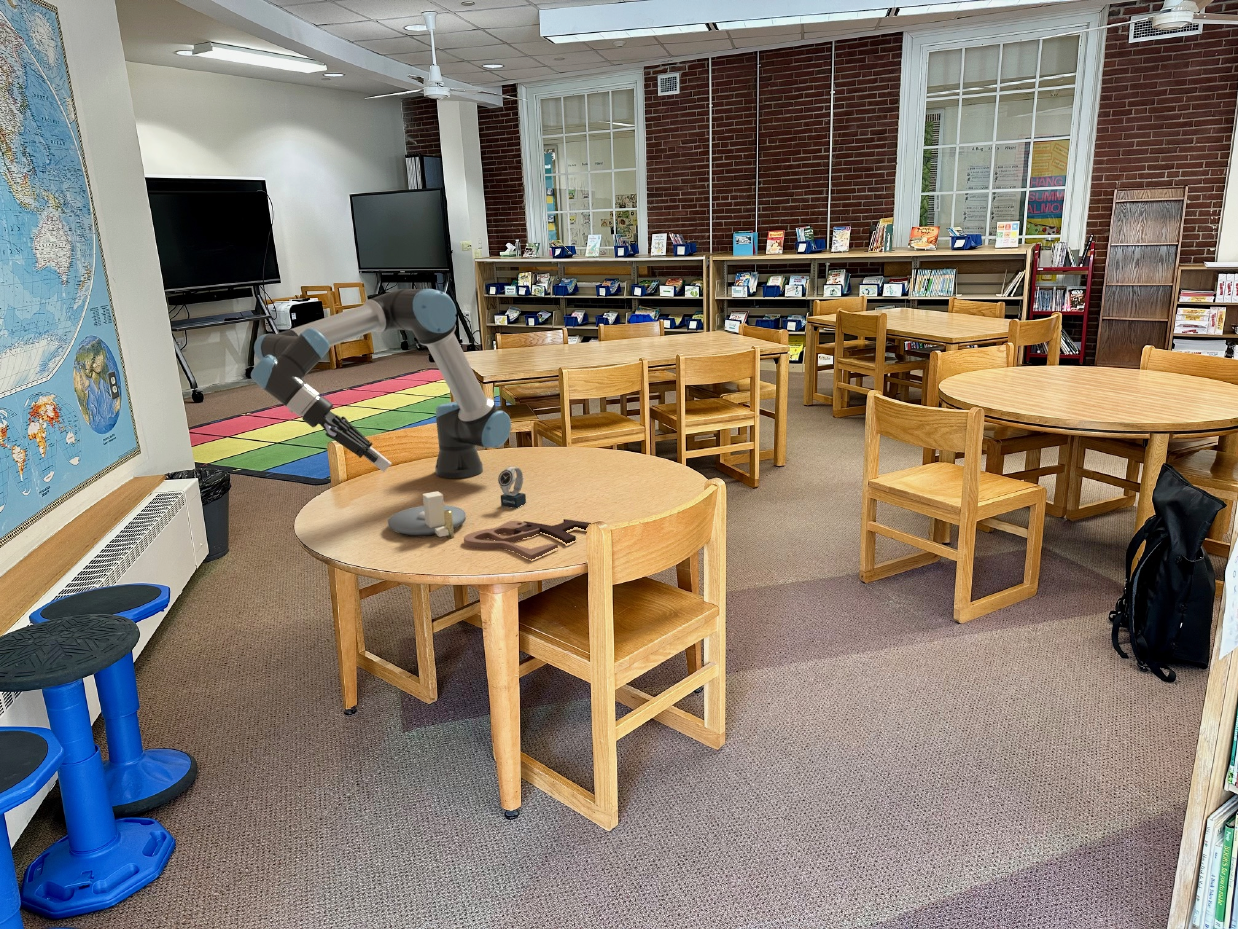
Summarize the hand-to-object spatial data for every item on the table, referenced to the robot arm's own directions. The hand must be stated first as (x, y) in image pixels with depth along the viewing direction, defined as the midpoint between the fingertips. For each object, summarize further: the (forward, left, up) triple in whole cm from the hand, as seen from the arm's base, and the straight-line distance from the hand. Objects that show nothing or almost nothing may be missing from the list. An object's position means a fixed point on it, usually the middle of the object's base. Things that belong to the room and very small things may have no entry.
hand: (387, 467), depth 211 cm
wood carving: (-13, +34, -19) cm, 41 cm away
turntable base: (-9, +4, -18) cm, 21 cm away
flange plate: (-8, +5, -17) cm, 19 cm away
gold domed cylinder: (-4, +14, -18) cm, 24 cm away
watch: (-33, +15, -18) cm, 40 cm away
